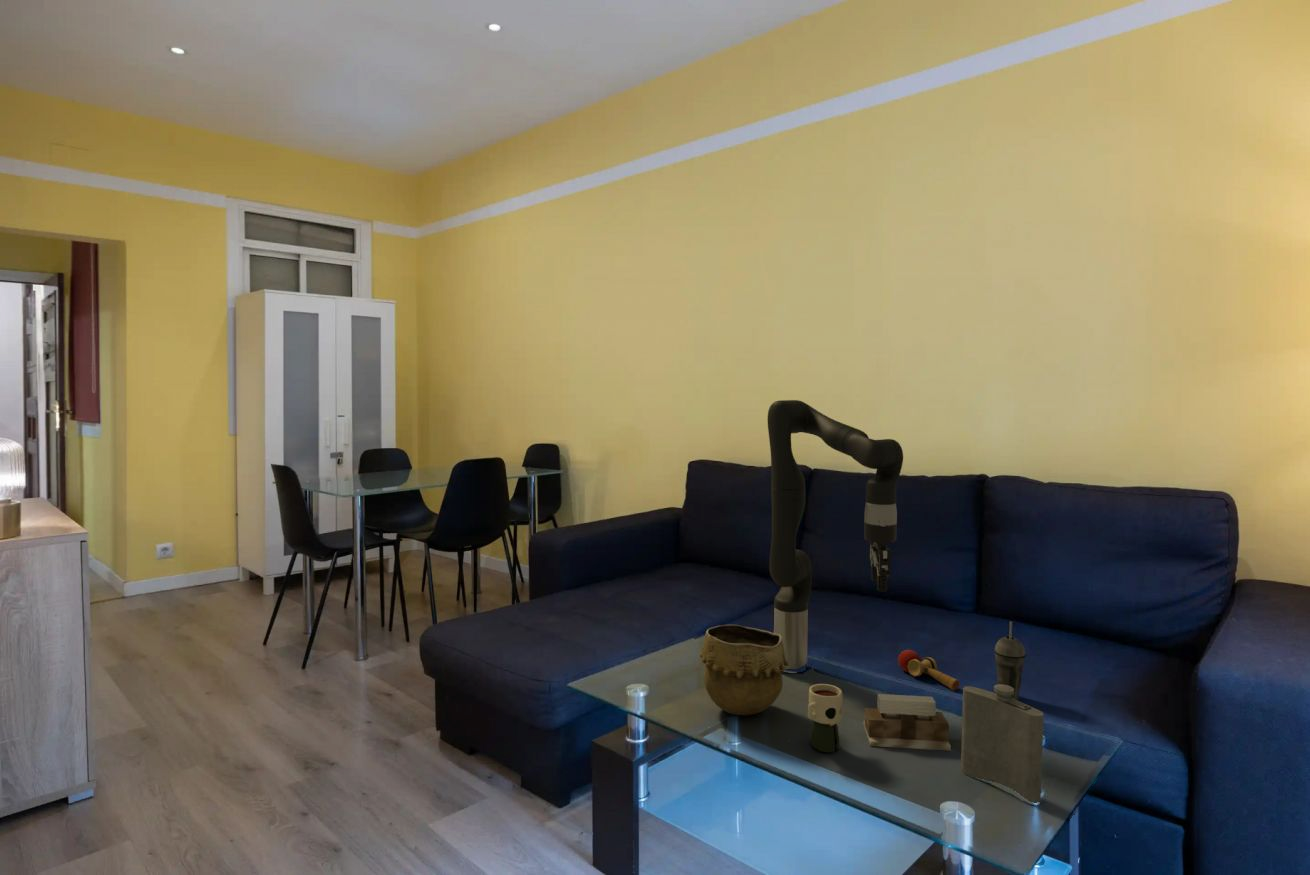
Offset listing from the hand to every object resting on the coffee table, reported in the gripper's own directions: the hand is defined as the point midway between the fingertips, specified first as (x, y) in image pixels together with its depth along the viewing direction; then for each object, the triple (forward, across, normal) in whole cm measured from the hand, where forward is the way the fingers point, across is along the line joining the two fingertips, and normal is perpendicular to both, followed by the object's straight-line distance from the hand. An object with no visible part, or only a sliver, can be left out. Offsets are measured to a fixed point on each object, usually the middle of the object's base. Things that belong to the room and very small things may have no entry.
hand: (879, 586), depth 178 cm
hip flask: (+30, +34, +18) cm, 49 cm away
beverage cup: (+30, -9, +34) cm, 46 cm away
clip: (+29, +16, +4) cm, 33 cm away
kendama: (+30, -19, +17) cm, 40 cm away
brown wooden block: (+30, +16, +4) cm, 34 cm away
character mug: (+30, +23, -15) cm, 41 cm away
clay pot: (+30, +7, -33) cm, 45 cm away
